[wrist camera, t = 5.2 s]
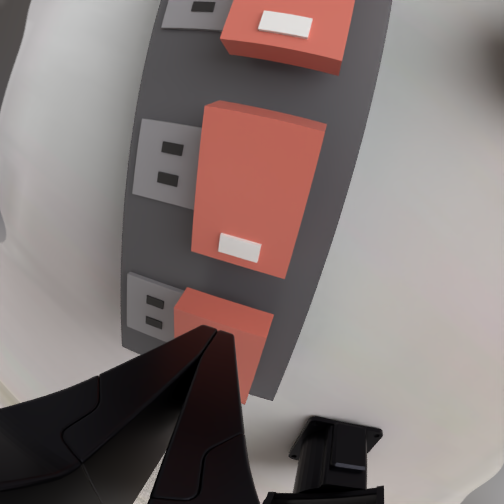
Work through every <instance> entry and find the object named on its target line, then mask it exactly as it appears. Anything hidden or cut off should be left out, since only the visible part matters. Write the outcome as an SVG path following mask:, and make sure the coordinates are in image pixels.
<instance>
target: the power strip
mask: <svg viewBox="0 0 504 504" xmlns="http://www.w3.org/2000/svg"><path fill="white" fill-rule="evenodd" d="M232 3H233V0H161V2H160V6H159V9H158V13H157V16H156V20H155V24H154V28H153V32H152V36H151V40H150V44H149V48H148V52H147V57H146V61H145V66H144V71H143V75H142V80H141V85H140V91H139V96H138V102H137V107H136V113H135V120H134V126H133V133H132V140H131V147H130V155H129V163H128V172H127V182H126V192H125V204H124V217H123V234H122V257H121V332H122V347H125V348H127V349H129V350H131V351H134V352H136V353H138V354H141V355H142V354H144V353H146V352H148V351H150V350H152V349H154V348H156V347H158V346H160V345H162V344H164V343H166V342H168V341H170V340H172V339H174V307H175V305H176V304H177V302H178V300H179V299H180V297H181V296H182V294H183V293H184V291H185V290H186V288H187V287H189V288H192V289H195V290H198V291H201V292H204V293H207V294H210V295H213V296H216V297H219V298H222V299H225V300H229V301H232V302H235V303H238V304H241V305H245V306H248V307H251V308H254V309H258V310H261V311H264V312H267V313H271V314H274V316H273V319H272V323H271V326H270V329H269V332H268V335H267V339H266V342H265V345H264V348H263V351H262V354H261V358H260V361H259V364H258V367H257V370H256V373H255V376H254V379H253V382H252V385H251V388H250V391H249V394H251V395H254V396H257V397H261V398H264V399H267V400H271V401H273V399H274V397H275V394H276V392H277V390H278V387H279V385H280V382H281V380H282V377H283V375H284V373H285V370H286V368H287V365H288V363H289V360H290V358H291V355H292V352H293V350H294V347H295V345H296V342H297V339H298V337H299V334H300V332H301V329H302V326H303V324H304V321H305V318H306V316H307V313H308V310H309V307H310V305H311V302H312V299H313V296H314V293H315V291H316V288H317V285H318V282H319V279H320V276H321V273H322V270H323V267H324V264H325V261H326V258H327V255H328V252H329V249H330V246H331V243H332V240H333V237H334V234H335V231H336V228H337V225H338V221H339V218H340V215H341V212H342V208H343V205H344V202H345V198H346V195H347V192H348V188H349V185H350V181H351V178H352V174H353V171H354V167H355V164H356V160H357V157H358V153H359V149H360V145H361V142H362V138H363V134H364V130H365V126H366V122H367V118H368V114H369V110H370V106H371V102H372V98H373V94H374V89H375V85H376V81H377V76H378V72H379V67H380V62H381V58H382V53H383V48H384V43H385V38H386V33H387V27H388V22H389V16H390V11H391V5H392V0H355V3H354V8H353V13H352V18H351V23H350V27H349V32H348V37H347V41H346V46H345V50H344V55H343V59H342V64H341V68H340V72H339V76H336V75H333V74H329V73H325V72H321V71H317V70H313V69H308V68H304V67H299V66H295V65H290V64H285V63H280V62H275V61H269V60H263V59H257V58H251V57H244V56H237V55H230V54H229V53H228V51H227V49H226V48H225V46H224V45H223V43H222V42H221V40H220V36H221V34H222V31H223V28H224V25H225V22H226V19H227V17H228V14H229V11H230V8H231V6H232ZM219 100H221V101H226V102H232V103H238V104H243V105H248V106H253V107H258V108H263V109H268V110H272V111H277V112H281V113H285V114H290V115H294V116H298V117H302V118H306V119H310V120H314V121H317V122H321V123H325V124H327V126H326V130H325V134H324V138H323V142H322V146H321V150H320V154H319V158H318V162H317V166H316V169H315V173H314V177H313V181H312V184H311V188H310V192H309V196H308V199H307V203H306V207H305V210H304V214H303V217H302V221H301V225H300V228H299V232H298V235H297V239H296V242H295V246H294V249H293V253H292V256H291V260H290V263H289V266H288V270H287V273H286V277H285V279H282V278H279V277H276V276H272V275H269V274H266V273H262V272H259V271H255V270H252V269H249V268H245V267H242V266H239V265H235V264H232V263H229V262H225V261H222V260H219V259H215V258H212V257H209V256H206V255H202V254H199V253H196V252H193V251H191V245H192V230H193V216H194V204H195V192H196V181H197V170H198V160H199V150H200V141H201V132H202V123H203V115H204V107H205V105H208V104H211V103H213V102H216V101H219Z"/></svg>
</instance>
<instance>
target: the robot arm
mask: <svg viewBox="0 0 504 504" xmlns="http://www.w3.org/2000/svg"><path fill="white" fill-rule="evenodd" d="M382 436H383V432H382V430H381V429H377V428H371V427H365V426H360V425H355V424H349V423H344V422H339V421H335V420H330V419H326V418H321V417H316V416H315V417H311V418H310V419H309V421H308V422H307V424H306V426H305V427H304V429H303V431H302V432H301V434H300V436H299V437H298V439H297V441H296V442H295V444H294V445H293V447H292V449H291V450H290V452H289V457H290V458H292V459H296V460H299V462H298V468H297V473H296V479H295V484H294V489H293V493H276V492H268V494H267V497H266V499H265V500H264V501H263V504H384V486H378V487H377V488H370V489H367V453H368V452H369V451H370V450H371V449H372V448H373V447H374V446H375V444H376V443H377V442H378V441H379V440H380V439H381V437H382ZM166 449H167V450H166ZM165 451H166V453H165ZM164 453H165V455H164V458H163V461H162V464H161V467H160V469H159V472H158V475H157V478H156V481H155V483H154V486H153V489H152V492H151V495H150V499H149V501H148V503H147V504H260V502H259V499H258V496H257V493H256V489H255V486H254V482H253V478H252V474H251V470H250V466H249V460H248V454H247V447H246V439H245V435H244V424H243V415H242V406H241V397H240V387H239V378H238V368H237V358H236V348H235V338H234V335H233V334H232V333H228V332H225V331H222V330H219V331H218V330H217V329H216V328H213V327H210V326H207V325H200V326H198V327H196V328H194V329H192V330H190V331H188V332H186V333H184V334H182V335H180V336H178V337H176V338H174V339H172V340H170V341H168V342H166V343H164V344H162V345H160V346H158V347H156V348H154V349H152V350H150V351H148V352H146V353H144V354H142V355H140V356H137V357H135V358H133V359H131V360H129V361H127V362H125V363H123V364H121V365H119V366H116V367H114V368H112V369H110V370H108V371H106V372H104V373H101V374H100V375H99V376H95V377H92V378H90V379H88V380H86V381H84V382H81V383H79V384H76V385H74V386H72V387H69V388H67V389H64V390H61V391H58V392H55V393H52V394H49V395H46V396H43V397H40V398H36V399H33V400H29V401H26V402H22V403H19V404H15V405H12V406H8V407H5V408H0V504H133V503H134V501H135V499H136V498H137V496H138V495H139V493H140V491H141V490H142V488H143V487H144V485H145V484H146V482H147V480H148V479H149V477H150V475H151V474H152V472H153V471H154V469H155V467H156V466H157V464H158V463H159V461H160V459H161V458H162V456H163V454H164Z"/></svg>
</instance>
